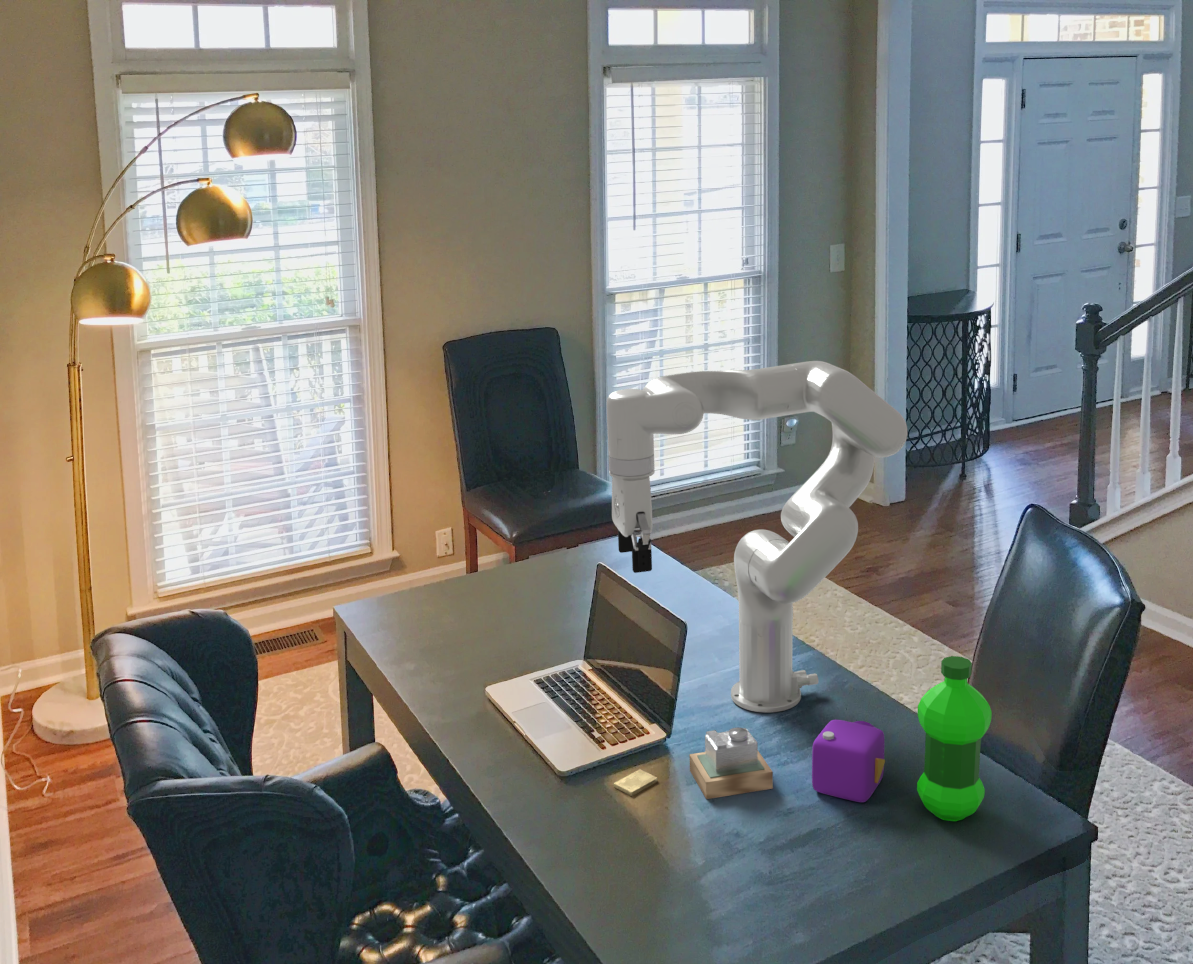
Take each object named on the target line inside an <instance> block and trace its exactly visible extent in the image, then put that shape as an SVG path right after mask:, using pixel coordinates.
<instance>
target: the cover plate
mask: <svg viewBox="0 0 1193 964" xmlns="http://www.w3.org/2000/svg"><path fill="white" fill-rule="evenodd" d="M658 779H659V778H658V777H657V776H655V775H652V774H650V773H649V772H647V771H645V770H642V769H641V768H639V769H638V770H636V771H635V770H634V771H633V772H632V773H630V774H628V775H627V776H625V777H623V778H620V779H619V780H617V781H615V782H613V788H615V789H616V790H618V791H620V792H622V793H624V794H626V795H627V796H630V797H633V796H635V795H637V794H638V793H640V792H642V791H644V790H646V789H647V788H649V787H651V786H652V785H654V784H656V783H658V782H659V781H658Z"/></svg>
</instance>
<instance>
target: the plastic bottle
mask: <svg viewBox="0 0 1193 964" xmlns="http://www.w3.org/2000/svg"><path fill="white" fill-rule="evenodd" d="M940 662H941V666H940V673H941V675H942V676H943V677H944V681H941V682H940V683H938V684H936V685H934V686H933V687H931V688H930V689H928V690H927V691H926V692H925V694H923V696H922V697H921V698H920V701H919V702H918V705H917V717H918V722H919V724H920V726H921V727H922V730H923V731H924V732H925V744H924V745H925V746H924V766H923V767H924V768H923V772H922V774H921V775H920V776H919V778H918V780H917V782H916V791H917V793H918V797H919V798H920V800H921V802H922V803H923V806H924V807H925V809H926V810H928V811H929V812H930V813H932V814H933V815H934V816H935V817H937V818H938V819H941V820H943V821H948V822H949V821H950V822H957V821H962V820H965V818H967V817H969V816H971V815H973V814H975V812H977V810H978V808H980V807H979V806H980V805H981V804H982V801H983V800H984V798H985V793H986V789H985V787H984V784H983V781H982V780H981V778H980V761H981V746H982V745H981V743H982V738H983V737H984V736H985V734H986V733H987V731H988V730H989V728H990V725H991V721H992V715H993V714H992V709H991V706H990V704H989V702H988V701H987V700H986V698H985V697H984V695H983V694H982V693H981V692H980V691H978V690H977V689H976V688H975V687H973V685H971V684H969V683H968V679H969V678H970V677H971V676H972V674H973V673H972V672H973V670H972V668H973V663H972V661H971V660H970V659H968V658H966V657H964V656H957V655H956V656H955V655H951V656H950V655H949V656H946V657H944V658H943V659H942V660H941V661H940Z"/></svg>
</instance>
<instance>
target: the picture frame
mask: <svg viewBox="0 0 1193 964" xmlns="http://www.w3.org/2000/svg"><path fill="white" fill-rule="evenodd" d="M689 772H690V773H691V775H692V777H693V779H694V780H695V782H696V783H697V786H698V787H699V789H700V791H701V792H702V794H703V796H704V798H705V799H706V800H710V799H711V800H712V799H716V798H723V797H728V796H735V795H742V794H746V793H754V792H760V791H767V790H770V789H771V790H773V789H774V787H773V783H774V782H773V780H774V779H773V778H774V774H773V773H774V772H773V770H772V768H771V767H770V766H769V764H768V763H767V761H766V760H765V759H764V757H763V756H762V754H761V753H760V752H759V750H758V765H754V766H749V767H744V768H738V769H733V770H728V771H722V772H717V773H716V772H715V770H714V769H713V767H712V766H711V765H710V763H709V762H708V760H707V759H706V758H705V751H704V752H703V751H702V752H696V753H690V754H689Z"/></svg>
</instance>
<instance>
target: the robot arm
mask: <svg viewBox="0 0 1193 964" xmlns="http://www.w3.org/2000/svg"><path fill="white" fill-rule="evenodd" d="M803 413H815V414H818V415H819V416H822V417H823V418H825V419H826V420H828V421H829V422H830V423H831V430H832V440H831V441H832V442H831V447H830V451H829V453H828V454H827V457H826V458H825V460H824V462H823V463H821V465H820V466H819V467H818V468H817V469H816V470H815V472H814V473H812V475H811V476H810V477H809V478H808V479H807V480H806V481H805V482H804V483H803V484H802V485H801V486H800V487H799V488H798V489H796V491H795V492H794V493H793V495H791V496H790V497H789V498H788V499H787V501H786V502H785V504H784V505H783V507H782V509H781V511H780V520H781V524H782V526H783V527H784V529H785V530H786V531H787V532H788V533H789V534H790V535H791V536H792V537H793V538H792V539H791V540H790V541H788V540H787V539H785V538H784V537H782V536H781V535H780V534H778V533H776V532H774V531H772V530H769V529H754V530H752V531H749V532H747V533H746V534H744V535H743V536H742V537H741V538H740V540H739V541H738V543H737V544H736V547H735V550H734V555H733V564H734V572H735V573H734V574H735V579H736V580H735V581H736V587H737V595H738V599H737V600H738V646H739V647H738V650H739V651H738V654H739V655H738V660H739V661H738V662H739V663H738V664H739V665H738V667H739V672H738V673H739V674H738V675H739V681H737V682H736V683H735V684H733V685H732V687H731V689H730V697H731V700H732V702H733V703H734V704H736V705H737V706H738V707H740V708H742V709H744V710H747V711H750V712H756V713H766V714H767V713H779V712H783V711H787V710H790V709H792V708H793V707H795V706H797V705H798V704H799V703H800V701H801V699H802V691H801V689H802V688H803V686H812V685H813V686H814V685H818V684H819V677H818V674H817V673H810V674H807V672H806V671H807V670H805V669H803V670H797V671H793V634H794V633H793V629H794V628H793V626H794V625H793V620H794V614H793V613H794V611H793V610H794V605H793V604H794V603H796V602H799V601H800V600H803V599H804V598H805V597H807V596H808V595H809V594H810V593H811V592H812V591H814V589H816V587H817V586H818V585H819V584H820V583H821V582H822V581H823V580H824V579H825V578H826V577H827V576H828V575H829V574H830V573H831V572H832V571H833V570H834V569H835V568H836V567H837V566H838V564H839V563H840V562H841V561H842V560H843V559H844V558H845V557H846V556H847V554H849V553H850V551H851V550H852V548H853V547H854V545H855V543H856V540H857V537H858V534H859V533H858V532H859V522H858V519H857V516H856V514H855V513H854V511H852V509H851V508H850V507H851V506H852V505H853V504H854V503H855V502H856V500H857V499H858V498H859V497H860V496H861V494H862V493H863V492H864V491H865V489H866V488H867V486H868V485H869V483H870V481H871V479H872V476H873V472H874V467H875V461H876V458H888V457H891V456H894V455H895V454H897V453H898V452H900V451H901V450H902V448H903V447H904V445H906V442H907V439H908V425H907V422H906V420H905V418H904V417H903V415H902V414H901V412H899V411H898V410H897V409H896V408H894V407H893V406H892V405H891V404H889V403H888V402H887V401H886V400H884V399H883V398H882V396H879V395H878V394H877V393H876V392H875V391H874V390H872V388H870V387H869V386H867V385H866V384H865V383H864V382H863V381H861V380H860V379H859V377H857V376H856V375H854V374H853V373H851V372H849V371H848V370H846V369H843V368H841V367H839V366H837V365H834V364H831V363H829V362H826V361H822V360H811V361H809V360H808V361H801V362H795V363H788V364H783V365H782V364H781V365H776V366H775V365H774V366H769V367H762V368H755V369H745V370H744V369H743V370H742V369H739V370H737V369H735V370H734V369H730V370H702V371H700V370H699V371H688V372H682V373H676V374H669V375H663V376H660V377H657V378H654V379H652V380H650V381H649V382H647V384H646V385H645V386H644V387H642V389H639V388H638V389H637V388H624V389H618V390H616V391H613V392H611V393H610V394H608V396H607V398H606V424H607V425H606V426H607V427H606V429H607V444H608V445H607V449H608V452H607V454H608V474H609V476H611V477H612V479H611V519H612V522H613V524H614V526H615V527H616V528H617V542H618V543H617V544H618V551H619V553H621V554H622V553H631V560H632V561H631V562H632V567H631V568H632V572H633V573H635V574H637V573H646V572H651V571H652V570H653V561H652V560H653V559H652V556H653V555H652V541H651V533H652V532H653V507H652V492H651V491H652V490H651V480H650V477H651V476H653V475H655V443H654V442H655V441H654V439H655V438H654V435H684V434H688V433H690V432H693V431H694V430H695V429H697V428H698V427H699V426H700V425H701V423H702V421H703V418H704V414H715V415H722V416H727V417H732V418H737V419H741V420H750V421H760V420H766V419H773V418H777V417H784V416H785V417H786V416H789V415H790V416H791V415H798V414H803ZM638 537H640V538H638Z"/></svg>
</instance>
